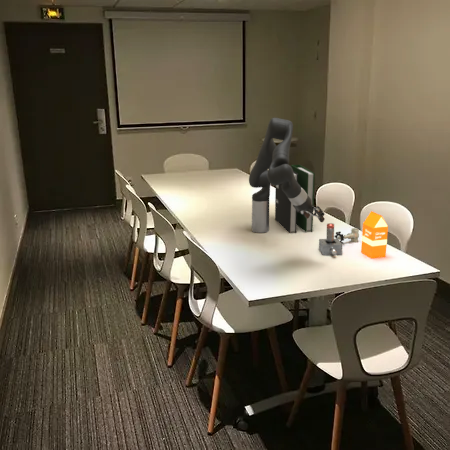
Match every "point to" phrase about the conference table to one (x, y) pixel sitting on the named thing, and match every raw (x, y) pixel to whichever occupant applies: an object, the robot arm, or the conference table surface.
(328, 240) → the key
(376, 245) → the orange juice
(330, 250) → the grey box
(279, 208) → the binder
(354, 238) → the valve
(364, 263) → the conference table surface
